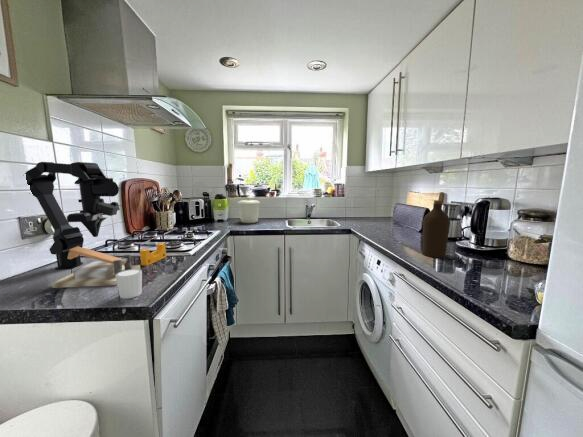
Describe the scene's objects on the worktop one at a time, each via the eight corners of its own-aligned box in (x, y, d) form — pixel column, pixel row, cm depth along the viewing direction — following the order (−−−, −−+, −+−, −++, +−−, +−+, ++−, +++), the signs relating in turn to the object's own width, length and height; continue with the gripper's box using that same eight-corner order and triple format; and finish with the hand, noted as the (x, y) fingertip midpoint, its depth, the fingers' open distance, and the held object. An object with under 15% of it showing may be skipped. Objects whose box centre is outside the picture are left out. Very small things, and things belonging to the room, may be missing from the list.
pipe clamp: (157, 256, 117) (156, 243, 116) (166, 257, 116) (165, 243, 115) (137, 265, 106) (136, 250, 105) (146, 266, 105) (145, 250, 104)
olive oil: (441, 260, 110) (446, 202, 106) (416, 254, 118) (420, 200, 114) (450, 255, 117) (455, 200, 113) (426, 250, 125) (430, 199, 121)
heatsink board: (52, 287, 84) (49, 267, 82) (85, 270, 99) (83, 253, 98) (117, 284, 86) (115, 264, 85) (140, 268, 101) (138, 251, 100)
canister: (236, 221, 213) (235, 196, 210) (258, 220, 219) (257, 195, 215) (239, 225, 196) (238, 197, 193) (262, 223, 202) (262, 196, 198)
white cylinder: (125, 290, 82) (123, 269, 81) (147, 289, 82) (145, 268, 81) (112, 300, 75) (109, 277, 74) (137, 299, 76) (134, 276, 74)
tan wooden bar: (65, 259, 88) (68, 248, 87) (76, 254, 93) (79, 244, 92) (117, 273, 90) (120, 262, 90) (125, 268, 95) (128, 258, 95)
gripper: (98, 197, 88) (103, 241, 91) (126, 194, 107) (130, 231, 109) (62, 198, 87) (69, 243, 90) (97, 194, 105) (101, 232, 108)
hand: (95, 236), depth 99 cm, fingers closed
